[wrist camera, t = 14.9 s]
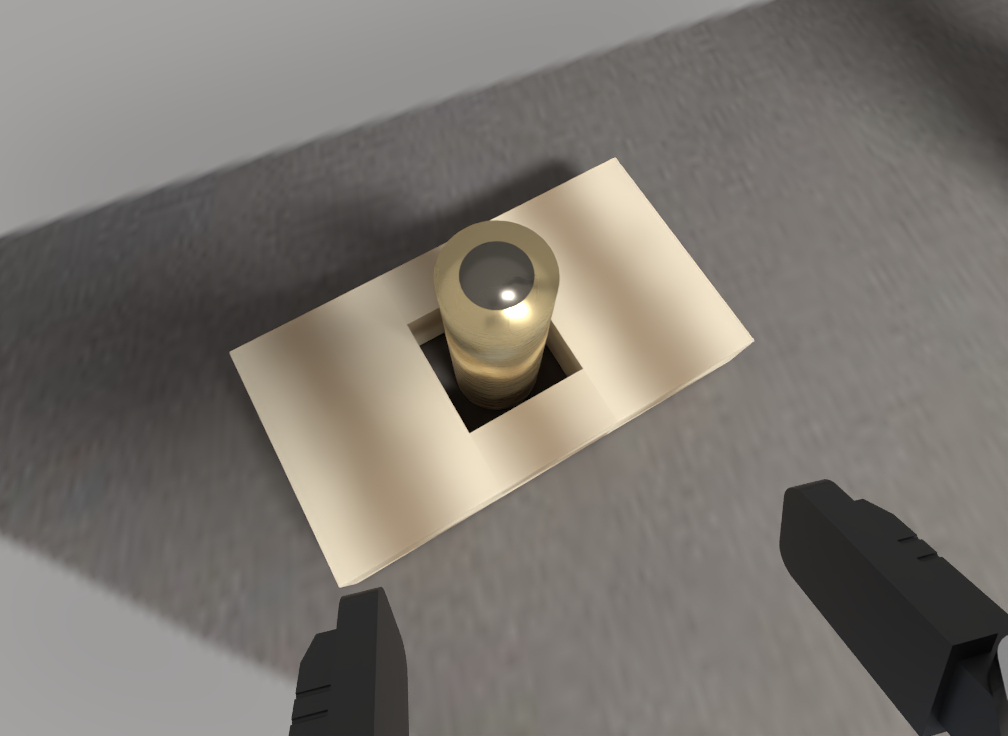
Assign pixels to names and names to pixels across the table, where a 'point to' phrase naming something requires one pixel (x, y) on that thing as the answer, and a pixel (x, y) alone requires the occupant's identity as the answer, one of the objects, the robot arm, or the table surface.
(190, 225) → the table surface
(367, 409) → the jig
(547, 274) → the bushing
